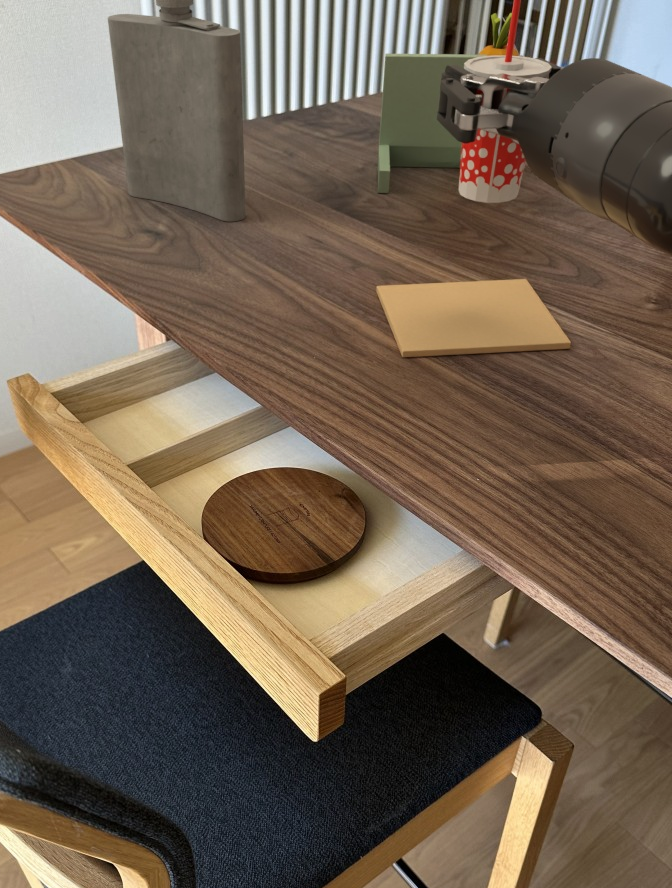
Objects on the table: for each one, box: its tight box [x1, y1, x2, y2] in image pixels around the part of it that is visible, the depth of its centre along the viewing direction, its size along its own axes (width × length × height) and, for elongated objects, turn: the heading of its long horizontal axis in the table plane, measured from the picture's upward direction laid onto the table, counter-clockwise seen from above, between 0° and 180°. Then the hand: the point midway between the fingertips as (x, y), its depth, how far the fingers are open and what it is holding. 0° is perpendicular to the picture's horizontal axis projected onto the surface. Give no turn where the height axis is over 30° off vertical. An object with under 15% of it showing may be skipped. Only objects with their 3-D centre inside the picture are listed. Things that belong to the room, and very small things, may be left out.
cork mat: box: [375, 278, 572, 358], centre depth 74 cm, size 14×12×1 cm
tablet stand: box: [377, 53, 487, 194], centre depth 96 cm, size 11×10×12 cm
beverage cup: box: [458, 0, 552, 204], centre depth 62 cm, size 6×6×14 cm
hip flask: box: [107, 0, 247, 223], centre depth 88 cm, size 16×4×20 cm, turn 55°
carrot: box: [477, 12, 520, 56], centre depth 103 cm, size 5×5×15 cm
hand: (489, 76), depth 63 cm, fingers closed on beverage cup, 6 cm apart
